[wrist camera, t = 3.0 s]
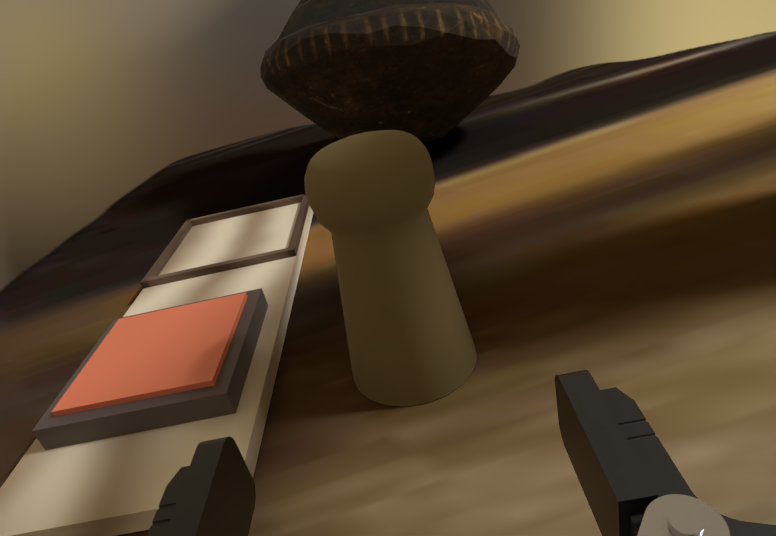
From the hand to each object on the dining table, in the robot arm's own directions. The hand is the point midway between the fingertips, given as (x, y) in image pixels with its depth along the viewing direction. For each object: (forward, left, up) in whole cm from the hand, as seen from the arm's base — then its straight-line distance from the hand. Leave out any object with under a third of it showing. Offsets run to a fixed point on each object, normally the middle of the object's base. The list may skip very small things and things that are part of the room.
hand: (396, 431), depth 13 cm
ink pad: (+12, -13, -7) cm, 19 cm away
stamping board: (+12, -20, -7) cm, 25 cm away
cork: (0, -11, -7) cm, 13 cm away
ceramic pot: (-2, -46, -7) cm, 47 cm away
